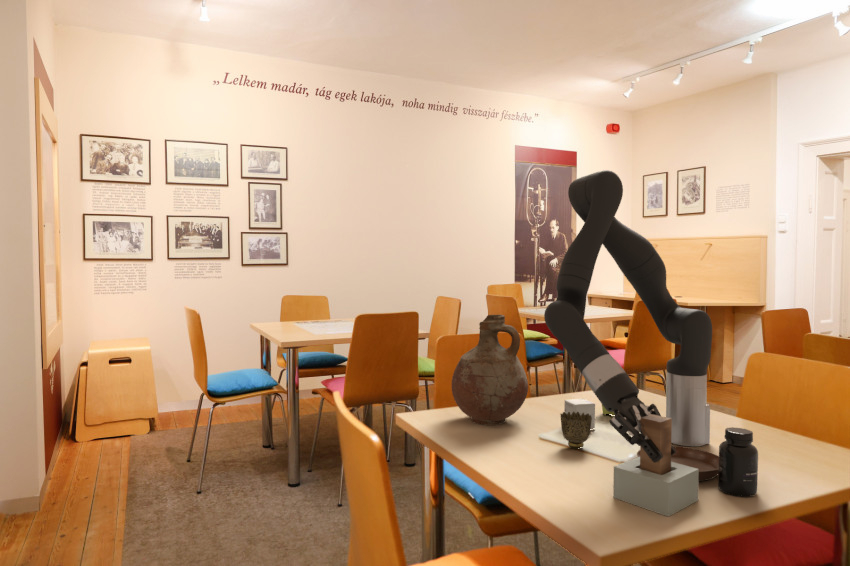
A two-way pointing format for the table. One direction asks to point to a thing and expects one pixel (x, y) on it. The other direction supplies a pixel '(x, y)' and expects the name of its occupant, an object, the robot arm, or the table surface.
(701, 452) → the plant saucer
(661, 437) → the brown wooden bar
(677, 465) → the socket block
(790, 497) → the table surface
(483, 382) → the jug
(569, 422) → the cup
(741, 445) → the supplement bottle
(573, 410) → the product box
